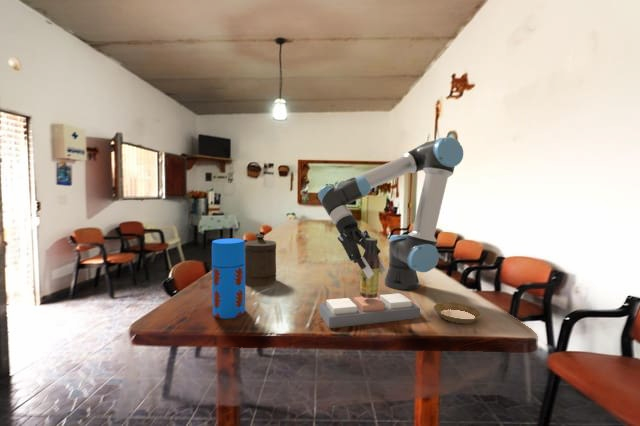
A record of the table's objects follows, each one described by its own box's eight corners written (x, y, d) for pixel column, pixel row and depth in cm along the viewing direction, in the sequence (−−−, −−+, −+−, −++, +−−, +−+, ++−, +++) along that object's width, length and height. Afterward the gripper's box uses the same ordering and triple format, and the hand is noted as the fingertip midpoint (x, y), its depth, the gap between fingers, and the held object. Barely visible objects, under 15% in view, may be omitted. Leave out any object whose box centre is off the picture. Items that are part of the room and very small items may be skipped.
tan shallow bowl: (426, 309, 111) (426, 302, 111) (465, 308, 112) (465, 301, 112) (446, 327, 97) (446, 319, 96) (490, 326, 98) (491, 318, 98)
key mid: (374, 302, 109) (374, 295, 109) (384, 310, 101) (385, 303, 101) (353, 304, 107) (353, 297, 107) (362, 313, 99) (362, 305, 99)
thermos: (227, 321, 98) (226, 244, 96) (205, 314, 104) (204, 241, 102) (251, 310, 107) (251, 240, 106) (230, 304, 113) (230, 237, 111)
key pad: (401, 304, 114) (401, 295, 114) (419, 318, 103) (420, 307, 103) (318, 313, 106) (319, 303, 106) (329, 328, 94) (329, 317, 94)
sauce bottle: (357, 293, 107) (359, 236, 106) (375, 292, 108) (377, 237, 106) (361, 299, 100) (363, 240, 99) (380, 299, 101) (382, 240, 100)
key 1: (348, 304, 106) (348, 297, 106) (356, 313, 99) (357, 306, 99) (326, 306, 104) (326, 299, 104) (333, 316, 97) (333, 308, 96)
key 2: (399, 300, 112) (399, 293, 112) (411, 308, 104) (411, 301, 104) (379, 301, 110) (379, 295, 109) (390, 310, 102) (390, 303, 102)
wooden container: (282, 279, 144) (282, 233, 143) (261, 288, 132) (261, 237, 130) (258, 275, 152) (258, 231, 150) (236, 282, 139) (236, 234, 138)
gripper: (356, 225, 120) (388, 275, 109) (319, 229, 108) (351, 285, 97) (367, 213, 116) (402, 263, 105) (329, 215, 103) (365, 273, 92)
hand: (377, 274), depth 101 cm, fingers closed on sauce bottle, 6 cm apart
